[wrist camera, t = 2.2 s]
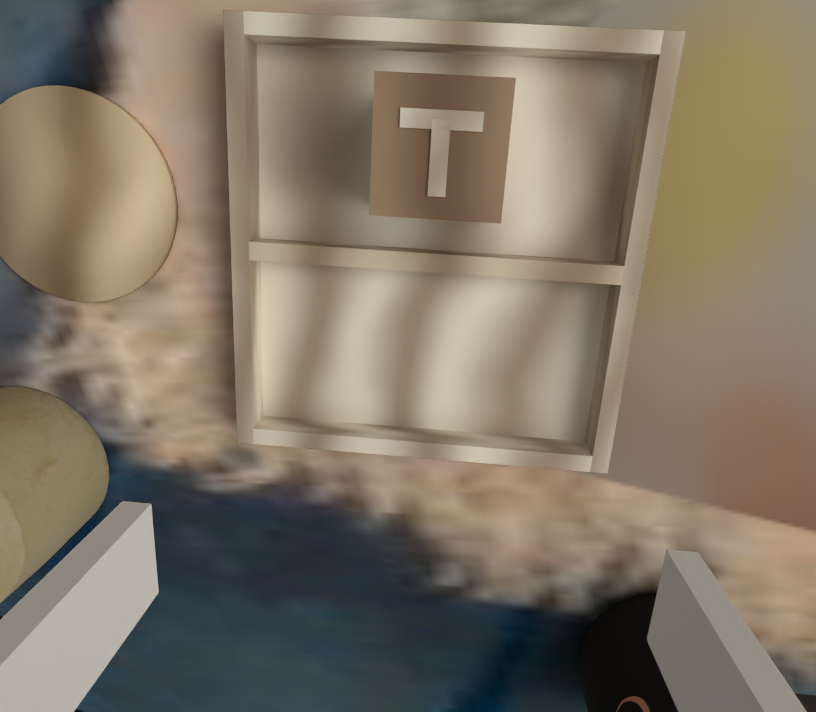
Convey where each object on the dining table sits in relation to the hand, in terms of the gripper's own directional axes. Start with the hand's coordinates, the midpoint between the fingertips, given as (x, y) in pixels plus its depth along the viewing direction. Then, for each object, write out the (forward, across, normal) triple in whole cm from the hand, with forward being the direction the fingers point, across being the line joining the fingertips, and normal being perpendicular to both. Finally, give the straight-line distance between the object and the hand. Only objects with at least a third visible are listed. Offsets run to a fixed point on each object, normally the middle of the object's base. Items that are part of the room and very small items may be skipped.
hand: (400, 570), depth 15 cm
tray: (+21, 0, +6) cm, 21 cm away
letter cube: (+20, 0, +11) cm, 23 cm away
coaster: (+21, -21, +8) cm, 30 cm away
